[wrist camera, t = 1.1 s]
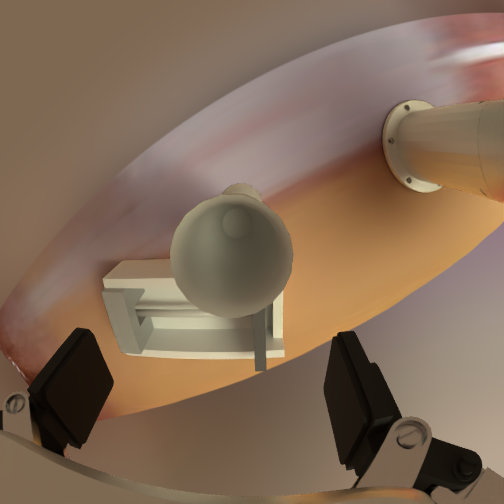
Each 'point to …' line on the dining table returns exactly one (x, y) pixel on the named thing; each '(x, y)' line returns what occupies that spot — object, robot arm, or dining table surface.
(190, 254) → the chalice
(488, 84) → the dining table surface
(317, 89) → the dining table surface
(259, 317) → the pusher
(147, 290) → the grey bracket
